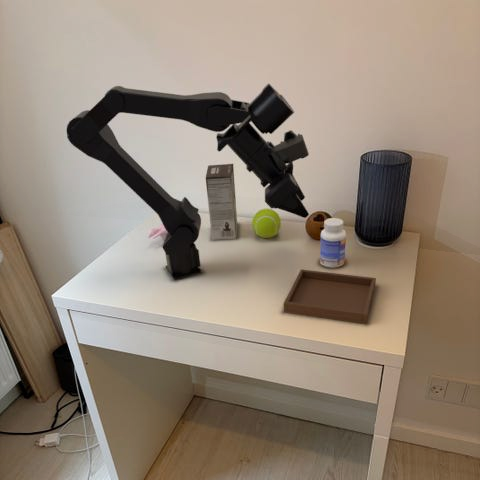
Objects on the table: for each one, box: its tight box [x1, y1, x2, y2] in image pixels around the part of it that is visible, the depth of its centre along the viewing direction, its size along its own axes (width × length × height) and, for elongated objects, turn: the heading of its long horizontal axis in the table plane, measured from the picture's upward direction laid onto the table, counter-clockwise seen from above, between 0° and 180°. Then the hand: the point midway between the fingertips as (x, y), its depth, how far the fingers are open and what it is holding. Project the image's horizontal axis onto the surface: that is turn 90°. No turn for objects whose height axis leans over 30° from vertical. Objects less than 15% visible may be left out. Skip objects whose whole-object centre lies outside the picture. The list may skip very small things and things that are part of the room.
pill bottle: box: [319, 217, 347, 269], centre depth 105 cm, size 5×5×10 cm
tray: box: [283, 268, 377, 325], centre depth 95 cm, size 15×13×2 cm
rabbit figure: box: [147, 223, 167, 240], centre depth 122 cm, size 6×6×15 cm
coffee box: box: [205, 163, 238, 241], centre depth 120 cm, size 9×6×16 cm
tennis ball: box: [251, 208, 282, 239], centre depth 119 cm, size 7×7×7 cm
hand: (305, 207), depth 99 cm, fingers open, 9 cm apart
